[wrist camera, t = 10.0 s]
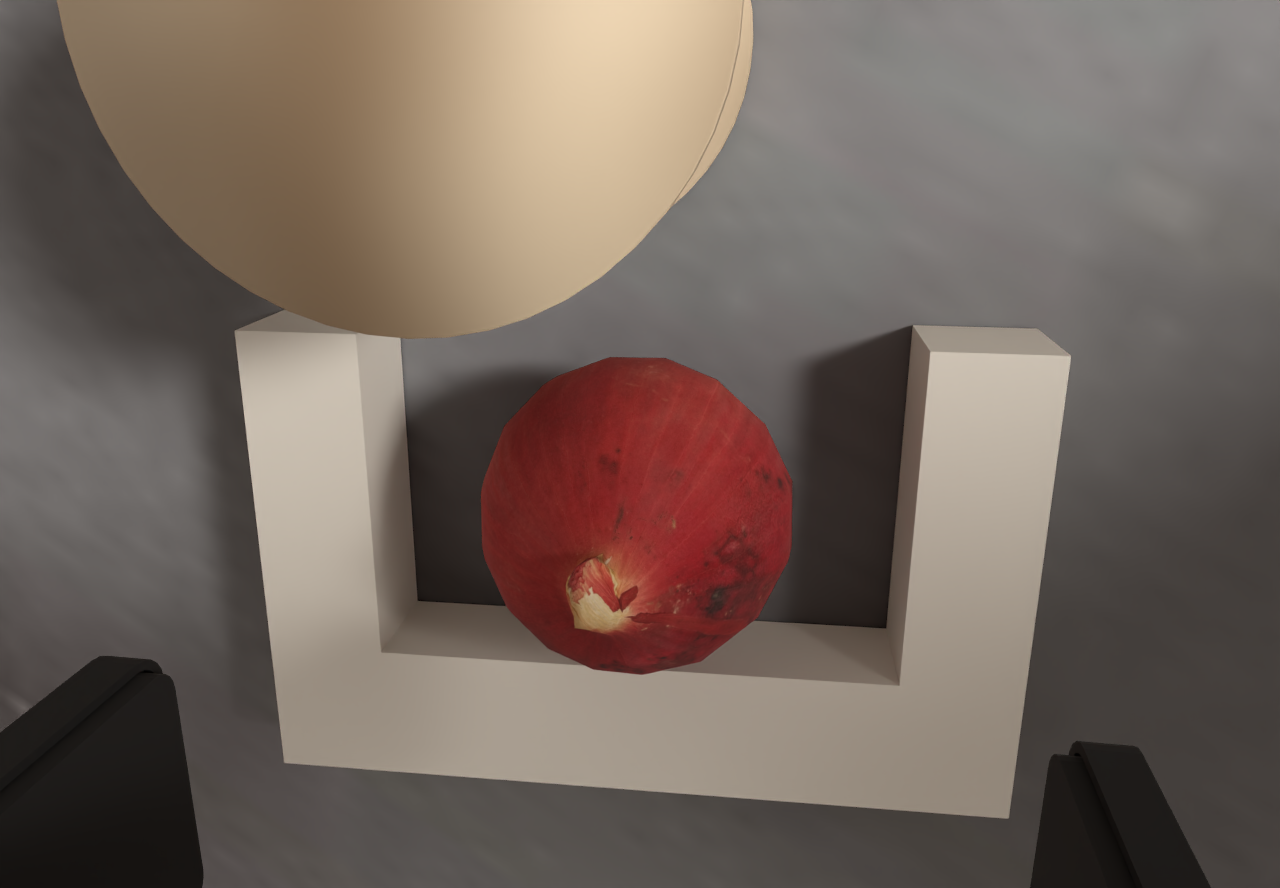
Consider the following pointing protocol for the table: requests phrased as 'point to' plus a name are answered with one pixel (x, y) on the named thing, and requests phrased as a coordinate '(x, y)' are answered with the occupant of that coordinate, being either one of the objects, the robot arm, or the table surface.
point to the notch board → (678, 697)
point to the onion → (635, 515)
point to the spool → (412, 141)
